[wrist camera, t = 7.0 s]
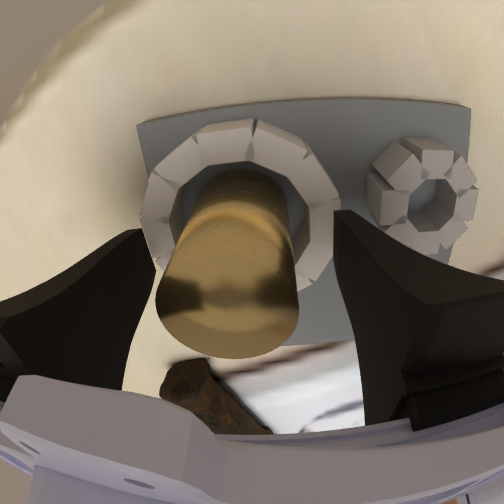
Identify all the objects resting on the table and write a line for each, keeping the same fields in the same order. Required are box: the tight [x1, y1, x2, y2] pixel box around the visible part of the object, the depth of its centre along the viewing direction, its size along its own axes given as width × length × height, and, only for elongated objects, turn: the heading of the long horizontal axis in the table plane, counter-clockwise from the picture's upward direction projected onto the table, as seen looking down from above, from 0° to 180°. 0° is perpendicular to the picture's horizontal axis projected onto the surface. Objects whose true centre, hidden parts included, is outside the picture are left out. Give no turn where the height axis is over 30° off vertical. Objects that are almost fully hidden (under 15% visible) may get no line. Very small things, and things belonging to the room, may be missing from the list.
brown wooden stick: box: [159, 358, 273, 435], centre depth 25 cm, size 19×4×5 cm, turn 22°
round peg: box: [155, 168, 299, 359], centre depth 11 cm, size 4×4×6 cm
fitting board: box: [137, 98, 478, 346], centre depth 14 cm, size 15×14×3 cm
